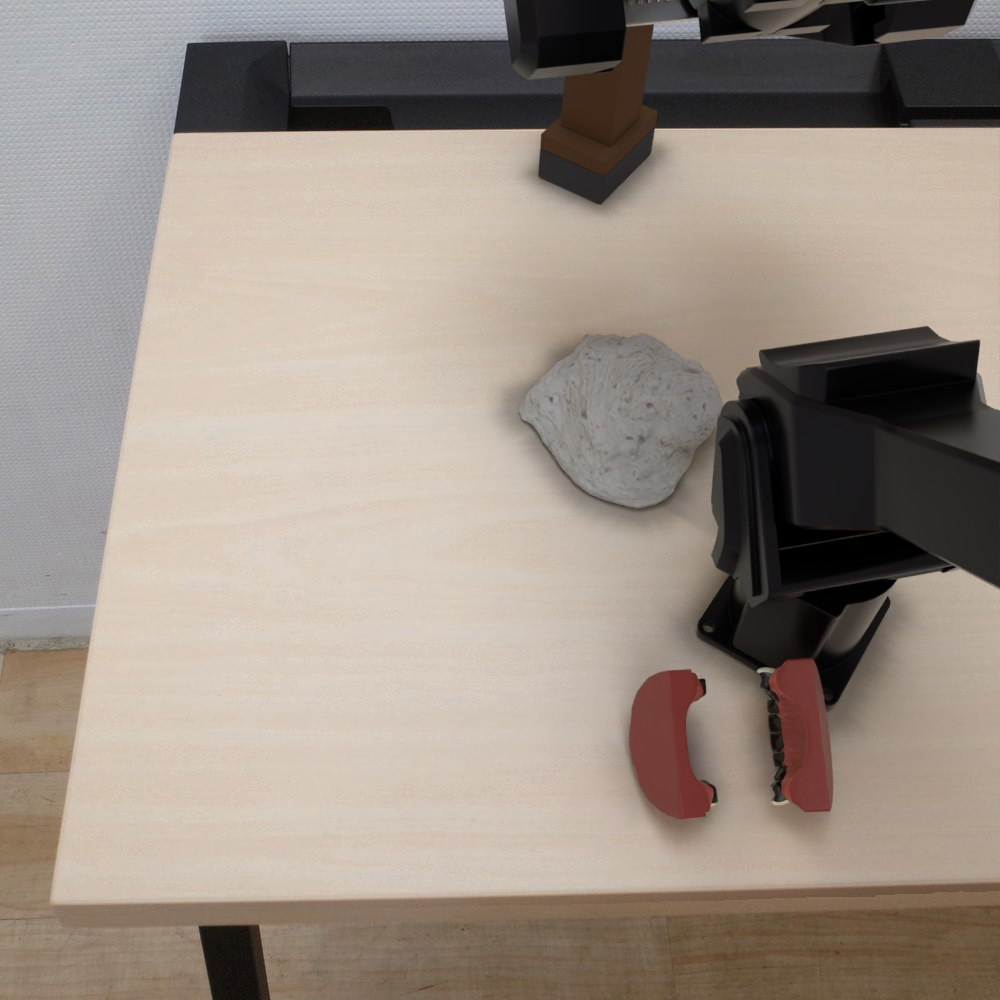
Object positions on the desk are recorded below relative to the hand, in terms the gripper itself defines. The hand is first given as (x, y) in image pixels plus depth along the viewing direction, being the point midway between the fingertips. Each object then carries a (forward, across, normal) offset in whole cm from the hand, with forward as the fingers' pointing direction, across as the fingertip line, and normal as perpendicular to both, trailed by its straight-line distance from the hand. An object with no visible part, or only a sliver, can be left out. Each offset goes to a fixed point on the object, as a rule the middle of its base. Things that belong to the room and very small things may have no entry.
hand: (671, 28), depth 51 cm
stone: (+1, +5, +18) cm, 19 cm away
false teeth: (-12, +9, +29) cm, 33 cm away
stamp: (+15, 0, +4) cm, 16 cm away
